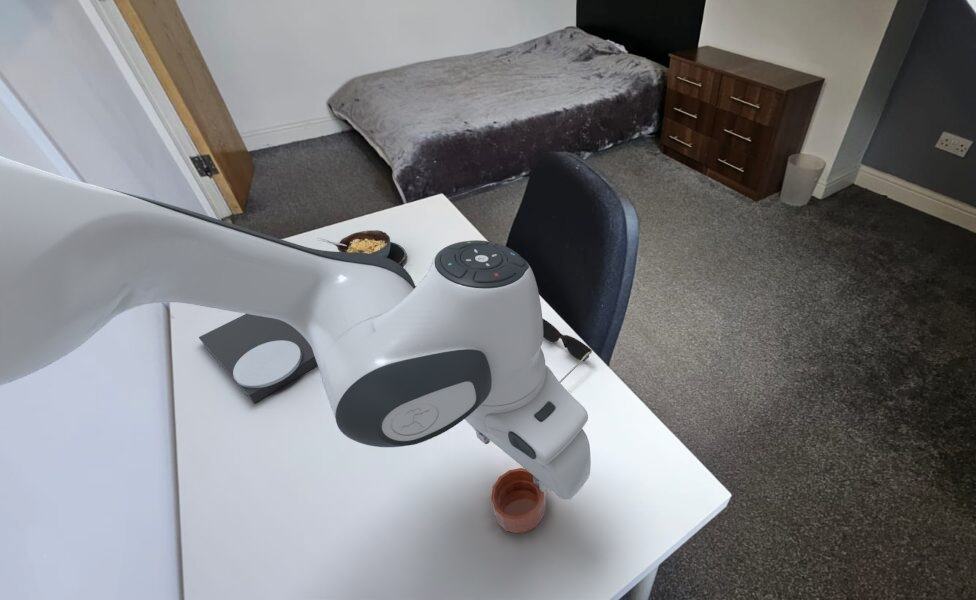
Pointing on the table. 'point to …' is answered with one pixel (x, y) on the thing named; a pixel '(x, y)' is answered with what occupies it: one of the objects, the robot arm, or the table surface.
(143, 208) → the robot arm
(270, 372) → the scale
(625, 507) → the table surface
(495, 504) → the bowl
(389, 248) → the soup bowl
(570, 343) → the sunglasses
